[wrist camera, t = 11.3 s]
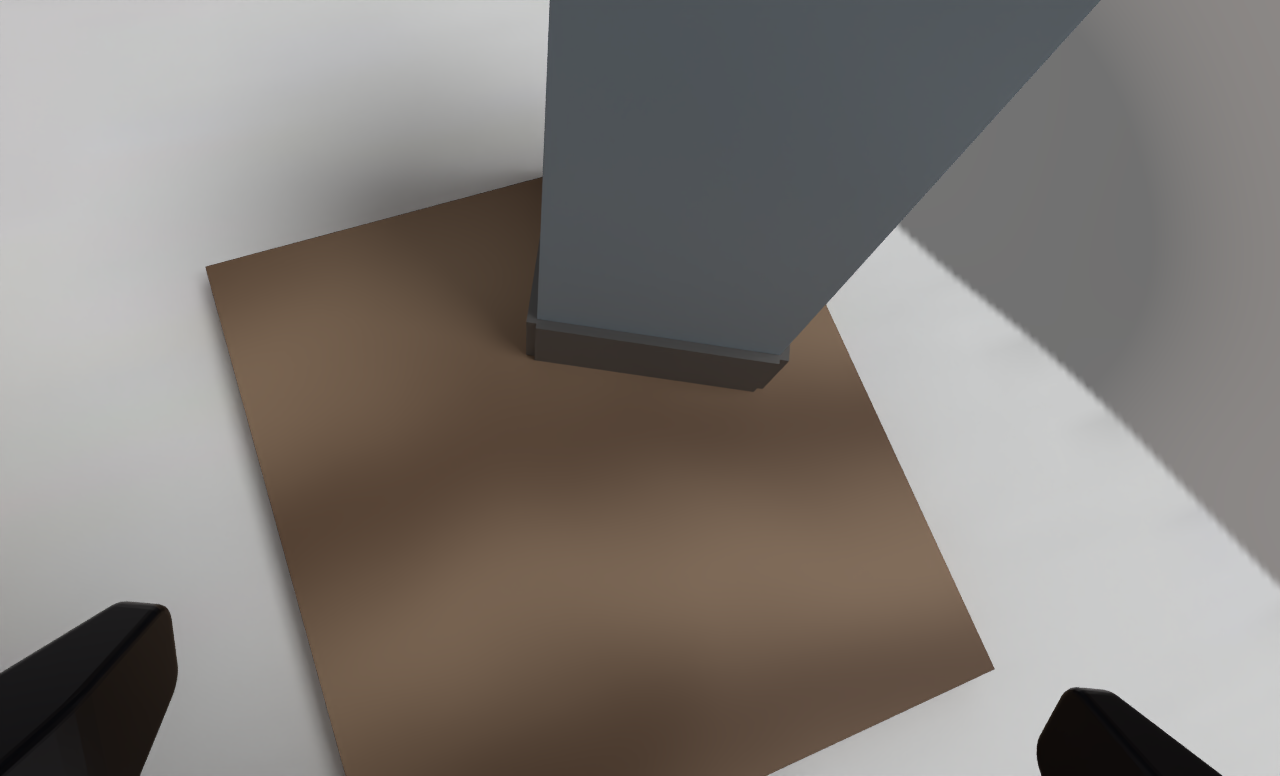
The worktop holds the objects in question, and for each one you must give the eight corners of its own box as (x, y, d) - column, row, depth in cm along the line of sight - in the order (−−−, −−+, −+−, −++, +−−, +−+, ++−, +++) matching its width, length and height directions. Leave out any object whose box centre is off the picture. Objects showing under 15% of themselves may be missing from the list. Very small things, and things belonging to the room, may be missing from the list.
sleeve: (762, 393, 19) (1215, -74, 6) (525, 358, 18) (527, -219, 6) (775, 185, 20) (1157, -502, 8) (558, 149, 20) (614, -646, 8)
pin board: (970, 667, 19) (1123, 677, 14) (401, 930, 16) (348, 1056, 11) (732, 145, 22) (790, 9, 17) (221, 285, 19) (119, 167, 14)
